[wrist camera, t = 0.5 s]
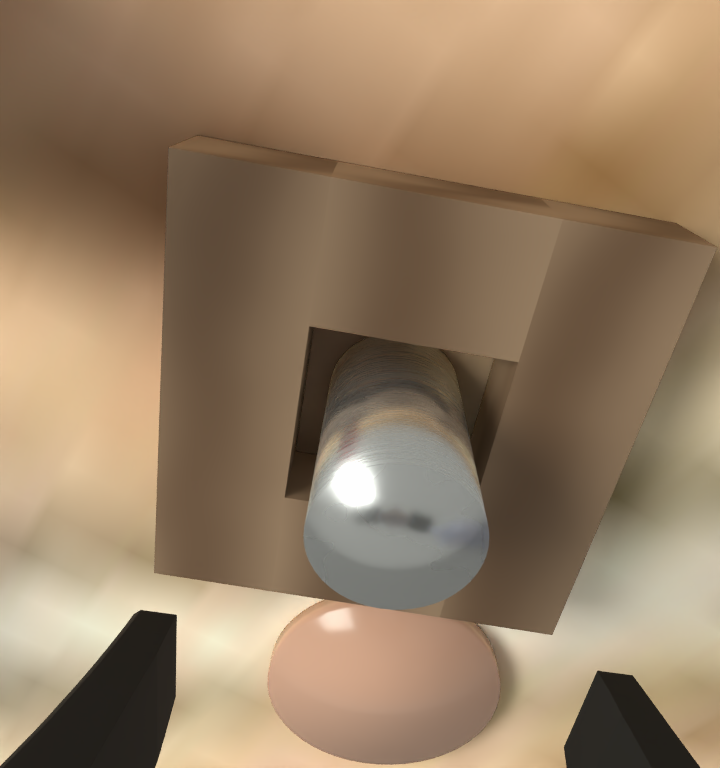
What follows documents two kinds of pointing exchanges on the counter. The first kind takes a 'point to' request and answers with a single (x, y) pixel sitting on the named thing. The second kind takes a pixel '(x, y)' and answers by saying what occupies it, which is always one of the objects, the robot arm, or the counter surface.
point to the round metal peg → (395, 481)
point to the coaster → (382, 682)
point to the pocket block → (409, 325)
